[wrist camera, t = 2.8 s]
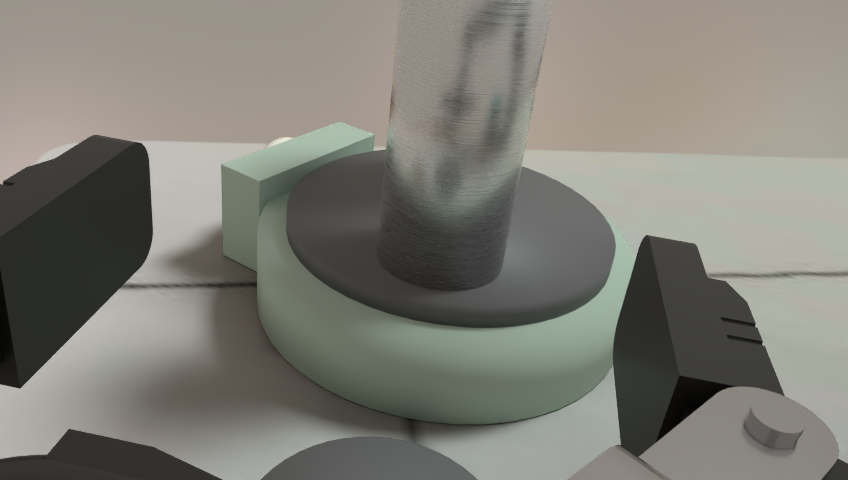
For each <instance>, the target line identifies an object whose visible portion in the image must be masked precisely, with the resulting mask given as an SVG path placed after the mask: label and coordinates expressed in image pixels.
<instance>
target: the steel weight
mask: <svg viewBox="0 0 848 480" xmlns="http://www.w3.org/2000/svg"><path fill="white" fill-rule="evenodd" d="M552 4H553V0H400V8H399V18H398V28H397V39H396V49H395V60H394V70H393V81H392V93H391V102H390V113H389V123H388V134H387V145H386V155H385V165H384V176H383V186H382V197H381V207H380V218H379V228H378V239H377V249H376V254H377V258H378V260H379V262H380V264H381V265H382V266H383V267H384V268H385V269H386V270H387V271H388V272H389V273H390V274H392V275H394V276H395V277H397V278H399V279H400V280H402V281H405V282H407V283H409V284H412V285H415V286H418V287H423V288H427V289H432V290H440V291H464V290H471V289H476V288H479V287H482V286H485V285H487V284H489V283H491V282H492V281H494V280H495V279H496V278H497V277H498V276H499V274H500V273H501V271H502V267H503V262H504V256H505V251H506V246H507V241H508V235H509V230H510V225H511V220H512V214H513V209H514V204H515V199H516V193H517V188H518V183H519V178H520V172H521V167H522V162H523V157H524V151H525V146H526V141H527V136H528V130H529V125H530V120H531V114H532V109H533V103H534V99H535V93H536V88H537V83H538V77H539V72H540V67H541V62H542V56H543V51H544V46H545V41H546V36H547V30H548V25H549V20H550V14H551V9H552Z"/></svg>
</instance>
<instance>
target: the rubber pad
mask: <svg viewBox="0 0 848 480" xmlns="http://www.w3.org/2000/svg"><path fill="white" fill-rule="evenodd" d="M261 480H477V479H476V478H475V477H474V476H473V475H472V474H471V473H469V472H468V471H467V470H466V469H464V468H463V467H462V466H460V465H459V464H457V463H456V462H454V461H453V460H451V459H450V458H448V457H446V456H444V455H442V454H440V453H438V452H436V451H434V450H431V449H429V448H426V447H424V446H421V445H418V444H414V443H411V442H407V441H402V440H397V439H392V438H382V437H353V438H343V439H338V440H333V441H328V442H325V443H322V444H318V445H315V446H312V447H310V448H307V449H305V450H303V451H300V452H298V453H296V454H295V455H293V456H291V457H289V458H287V459H286V460H284V461H283V462H281V463H280V464H279V465H277V466H276V467H274V468H273V469H272V470H271V471H270V472H269V473H268V474H266V475H265V476H264V477H263V478H262V479H261Z"/></svg>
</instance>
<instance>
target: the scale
mask: <svg viewBox="0 0 848 480" xmlns="http://www.w3.org/2000/svg"><path fill="white" fill-rule="evenodd" d="M373 148H374V134H371V133H368V132H366V131H363V130H360V129H357V128H355V127H352V126H349V125H347V124H344V123H341V122H338V123H335V124H332V125H329V126H326V127H323V128H321V129H318V130H315V131H312V132H310V133H307V134H304V135H301V136H299V137H296V138H289V137H282V138H278V139H276V140H274V141H272V142H270V143H269V144H268V145H267V146H266V147H265V148H264V149H263V150H260V151H257V152H254V153H251V154H249V155H246V156H243V157H240V158H238V159H235V160H232V161H229V162H227V163H224V164H221V173H222V227H223V255H225V256H227V257H229V258H231V259H233V260H234V261H236V262H238V263H240V264H242V265H244V266H246V267H248V268H250V269H252V270H254V271H256V272H257V306H258V314H259V318H260V321H261V324H262V326H263V329H264V331H265V333H266V335H267V336H268V338H269V340H270V341H271V343H272V345H273V346H274V347H275V348H276V349H277V351H278V352H279V353H280V354H281V355H282V356H283V357H284V359H285V360H286V361H287V362H289V363H290V364H291V365H292V366H293V367H294V368H296V369H297V370H298V371H299V372H300V373H301V374H303V375H304V376H306V377H307V378H309V379H310V380H312V381H313V382H315V383H316V384H318V385H320V386H321V387H323V388H325V389H327V390H329V391H331V392H333V393H335V394H337V395H339V396H341V397H342V398H344V399H347V400H349V401H352V402H355V403H357V404H360V405H362V406H365V407H368V408H370V409H374V410H377V411H381V412H384V413H388V414H392V415H395V416H399V417H404V418H410V419H415V420H421V421H426V422H436V423H447V424H493V423H503V422H513V421H517V420H522V419H527V418H532V417H537V416H540V415H543V414H546V413H549V412H552V411H555V410H558V409H560V408H562V407H564V406H566V405H568V404H570V403H572V402H574V401H576V400H578V399H580V398H581V397H583V396H584V395H585V394H587V393H588V392H590V391H591V390H592V389H594V388H595V387H596V386H597V385H598V384H599V383H600V382H601V381H602V379H603V378H604V377H605V376H606V375H607V373H608V371H609V370H610V368H611V367H612V365H613V343H614V336H615V330H616V326H617V321H618V318H619V314H620V311H621V308H622V304H623V301H624V297H625V294H626V291H627V287H628V284H629V280H630V277H631V274H632V270H633V267H634V263H635V260H636V256H635V254H634V252H633V250H632V248H631V246H630V244H629V243H628V241H627V240H626V238H625V237H624V235H623V234H622V233H621V232H620V231H619V230H618V229H617V228H616V227H615V226H614V224H613V223H612V222H610V221H609V220H608V219H607V218H606V217H604V216H603V215H602V214H601V212H600V211H599V210H598V209H597V208H596V207H595V206H594V205H593V204H591V203H590V202H589V201H588V200H587V199H585V198H584V197H583V196H581V195H580V194H578V193H577V192H575V191H574V190H572V189H571V188H569V187H567V186H565V185H564V184H562V183H560V182H558V181H556V180H554V179H552V178H550V177H548V176H545V175H543V174H541V173H538V172H536V171H533V170H530V169H528V168H525V167H521V172H520V178H519V183H518V188H517V193H516V199H515V204H514V209H513V214H512V220H511V225H510V230H509V235H508V241H507V246H506V251H505V256H504V262H503V267H502V271H501V273H500V274H499V276H498V277H497V278H496V279H495V280H494V281H492V282H491V283H489V284H487V285H485V286H482V287H479V288H476V289H471V290H464V291H440V290H432V289H427V288H423V287H418V286H415V285H412V284H409V283H407V282H405V281H402V280H400V279H399V278H397V277H395V276H394V275H392V274H390V273H389V272H388V271H387V270H386V269H385V268H384V267H383V266H382V265H381V264H380V262H379V260H378V258H377V254H376V249H377V239H378V228H379V218H380V207H381V197H382V186H383V176H384V165H385V155H386V150H379V151H373Z"/></svg>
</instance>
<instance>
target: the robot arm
mask: <svg viewBox="0 0 848 480" xmlns="http://www.w3.org/2000/svg"><path fill="white" fill-rule="evenodd" d="M152 235H153V225H152V207H151V188H150V170H149V157H148V153H147V150H146V148H145V146H144V145H143V144H141V143H138V142H132V141H127V140H121V139H116V138H110V137H105V136H99V135H93V136H91V137H89V138H87V139H86V140H84V141H82V142H81V143H79V144H78V145H76V146H74V147H73V148H71V149H70V150H68V151H66V152H65V153H63V154H62V155H60V156H58V157H57V158H55V159H52V160H49V161H46V162H42V163H39V164H36V165H33V166H29V167H26V168H25V169H23V170H21V171H20V172H18V173H16V174H15V175H13V176H11V177H10V178H8V179H7V180H5V181H4V182H3V185H1V184H0V384H2V385H6V386H11V387H16V388H21V387H22V386H23V385H24V384H25V383H26V382H27V381H28V380H29V379H30V378H31V377H32V376H33V375H34V374H35V373H36V372H37V371H38V370H39V369H40V368H41V367H42V366H43V365H44V364H45V363H46V362H47V361H48V360H49V359H50V358H51V357H52V356H53V355H54V354H55V353H56V352H57V351H58V350H59V349H60V348H61V347H62V346H63V345H64V344H65V343H66V342H67V341H68V340H69V339H70V338H71V337H72V336H73V335H74V334H75V333H76V332H77V331H78V330H79V329H80V328H81V327H82V326H83V325H84V324H85V323H86V322H87V321H88V320H89V319H90V318H91V317H92V316H93V315H94V314H95V313H96V312H97V311H98V310H99V309H100V308H101V307H102V306H103V305H104V304H105V303H106V302H107V300H108V299H109V298H110V297H111V296H112V295H113V294H114V293H115V292H116V291H117V290H118V289H119V288H120V287H121V286H122V285H123V284H124V283H125V282H126V281H127V280H128V279H129V278H130V277H131V276H132V275H133V274H134V273H135V272H136V271H137V270H138V269H139V268H140V267H141V266H142V265H143V263H144V262H145V260H146V258H147V256H148V253H149V250H150V247H151V243H152ZM755 324H756V323H755V321H754V318H753V316H752V313H751V311H750V308H749V306H748V303H747V302H746V301H745V300H744V299H743V298H742V297H741V296H740V295H739V294H738V293H737V292H736V291H735V290H734V289H733V288H732V287H731V286H730V285H729V284H728V283H727V282H726V281H721V280H716V279H710V278H707V275H706V272H705V269H704V266H703V263H702V260H701V257H700V254H699V251H698V248H697V246H696V244H693V243H687V242H682V241H676V240H671V239H665V238H660V237H654V236H649V235H646V236H645V237H644V238H643V240H642V242H641V244H640V247H639V250H638V253H637V257H636V260H635V263H634V267H633V270H632V274H631V277H630V280H629V284H628V287H627V291H626V294H625V297H624V301H623V304H622V308H621V311H620V314H619V318H618V321H617V326H616V330H615V336H614V343H613V367H614V377H615V387H616V398H617V408H618V418H619V428H620V439H621V445H616V446H613V447H611V448H609V449H608V450H606V451H605V452H603V453H602V454H601V455H599V456H598V457H597V458H595V459H594V460H593V461H591V462H590V463H589V464H587V465H586V466H585V467H584V468H582V469H581V470H580V471H578V472H577V473H576V474H574V475H573V476H572V477H570V478H569V479H568V480H848V464H847V463H845V462H843V461H841V460H840V459H838V454H839V449H838V444H837V441H836V439H835V437H834V435H833V433H832V432H831V430H830V429H829V428H828V427H827V426H826V424H825V423H824V422H823V421H822V420H821V419H820V418H818V417H817V416H816V415H815V414H814V413H812V412H811V411H810V410H808V409H807V408H805V407H804V406H802V405H801V404H799V403H797V402H795V401H793V400H791V399H789V398H787V397H785V396H784V393H783V391H782V388H781V386H780V383H779V381H778V378H777V376H776V373H775V371H774V368H773V366H772V363H771V361H770V358H769V356H768V353H767V351H766V348H765V346H762V342H763V341H762V338H761V336H760V333H759V331H758V328H755ZM0 480H222V479H220V478H218V477H216V476H213V475H211V474H209V473H207V472H205V471H203V470H201V469H199V468H197V467H194V466H192V465H190V464H188V463H186V462H184V461H182V460H180V459H177V458H175V457H173V456H171V455H169V454H167V453H165V452H163V451H161V450H158V449H156V448H154V447H151V446H146V445H141V444H137V443H132V442H127V441H123V440H118V439H113V438H109V437H104V436H99V435H95V434H90V433H85V432H81V431H76V430H71V429H69V430H68V431H67V432H66V433H65V434H64V436H63V437H62V438H61V439H60V440H59V442H58V443H57V444H56V445H55V446H54V447H53V449H52V450H51V451H50V452H49V453H48V455H30V456H17V457H10V458H4V459H0Z"/></svg>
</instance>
